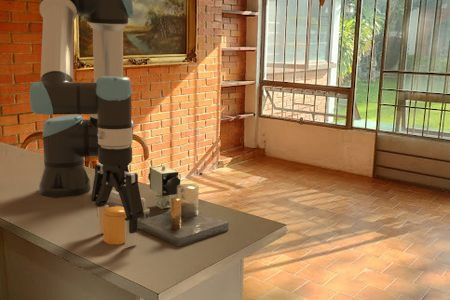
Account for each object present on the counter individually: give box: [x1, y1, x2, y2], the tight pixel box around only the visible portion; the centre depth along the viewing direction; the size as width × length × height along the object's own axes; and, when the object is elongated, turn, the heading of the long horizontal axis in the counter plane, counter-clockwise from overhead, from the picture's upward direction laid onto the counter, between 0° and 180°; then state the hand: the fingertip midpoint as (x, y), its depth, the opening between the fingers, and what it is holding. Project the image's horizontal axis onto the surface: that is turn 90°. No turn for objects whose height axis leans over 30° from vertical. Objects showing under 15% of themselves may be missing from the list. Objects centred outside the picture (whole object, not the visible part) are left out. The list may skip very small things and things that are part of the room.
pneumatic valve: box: [147, 165, 181, 210], centre depth 139 cm, size 6×12×12 cm, turn 32°
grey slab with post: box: [137, 183, 229, 247], centre depth 122 cm, size 16×16×9 cm
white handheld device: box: [96, 188, 151, 221], centre depth 135 cm, size 5×7×25 cm
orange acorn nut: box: [103, 205, 127, 245], centre depth 114 cm, size 6×6×7 cm
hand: (116, 238), depth 115 cm, fingers open, 10 cm apart
